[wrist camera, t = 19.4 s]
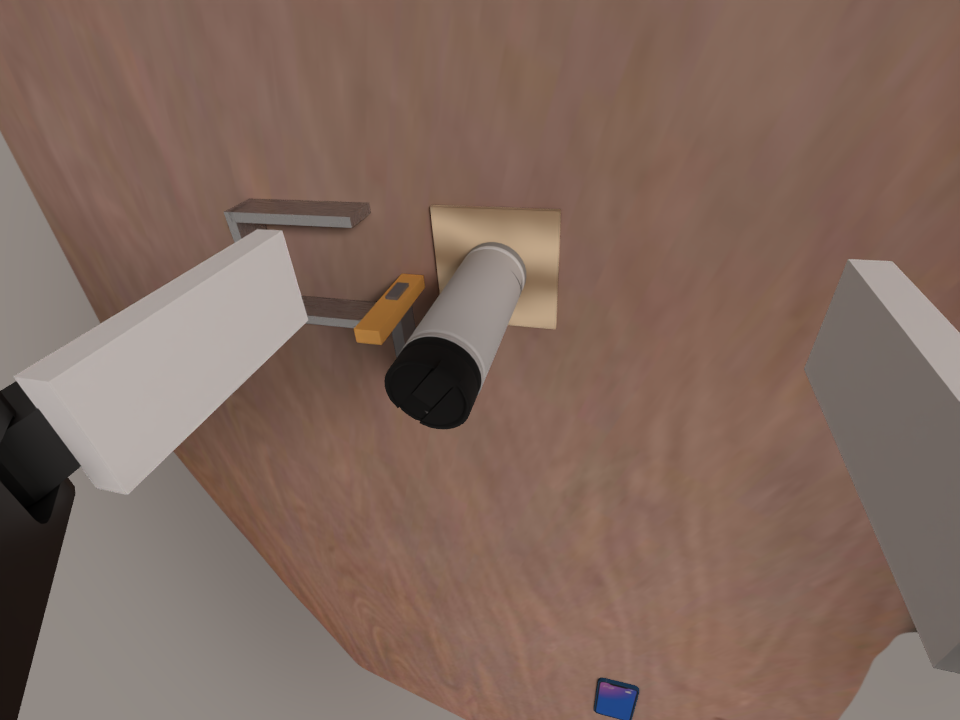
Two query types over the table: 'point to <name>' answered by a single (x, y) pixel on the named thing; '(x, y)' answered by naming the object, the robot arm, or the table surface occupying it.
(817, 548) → the table surface
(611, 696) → the smartphone
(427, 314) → the travel mug
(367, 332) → the bar
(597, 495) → the table surface
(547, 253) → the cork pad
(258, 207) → the holder
